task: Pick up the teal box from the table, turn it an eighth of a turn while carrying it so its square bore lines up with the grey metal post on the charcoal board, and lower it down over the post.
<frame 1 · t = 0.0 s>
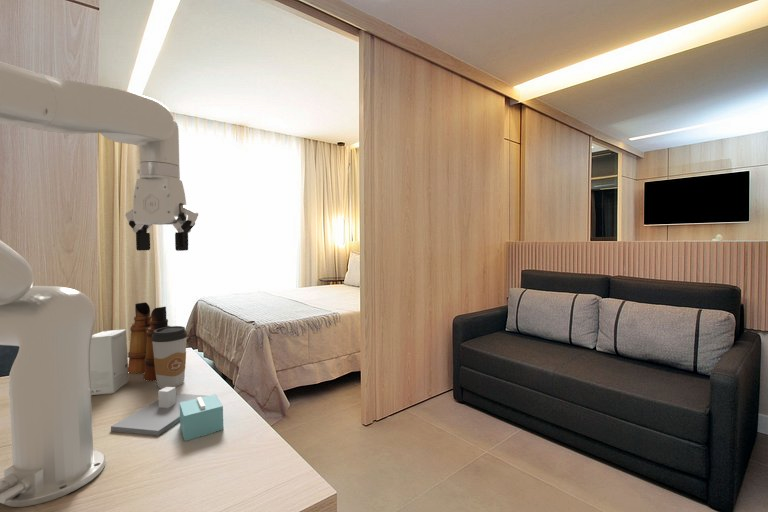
hand: (162, 250, 80), 37 cm above the table, tool pointing down, fingers open, 9 cm apart
teal box: (201, 427, 73), on the table
binoculars: (152, 372, 105), on the table
skincare box: (109, 389, 93), on the table
coffee cup: (171, 384, 96), on the table
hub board: (164, 414, 79), on the table
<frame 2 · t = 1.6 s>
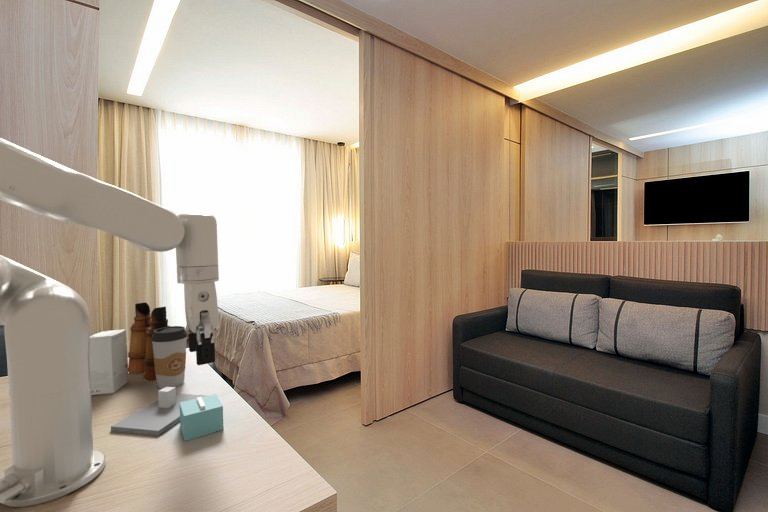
hand: (201, 356, 73), 15 cm above the table, tool pointing down, fingers open, 9 cm apart
nothing on the table moved.
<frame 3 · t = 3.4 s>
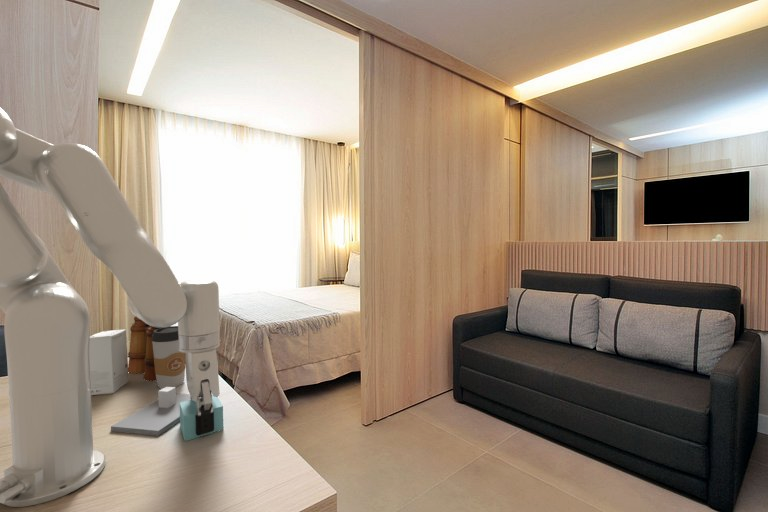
hand: (201, 423, 73), 1 cm above the table, tool pointing down, fingers closed on teal box, 7 cm apart
teal box: (201, 427, 73), on the table, touching gripper
everything else where it was.
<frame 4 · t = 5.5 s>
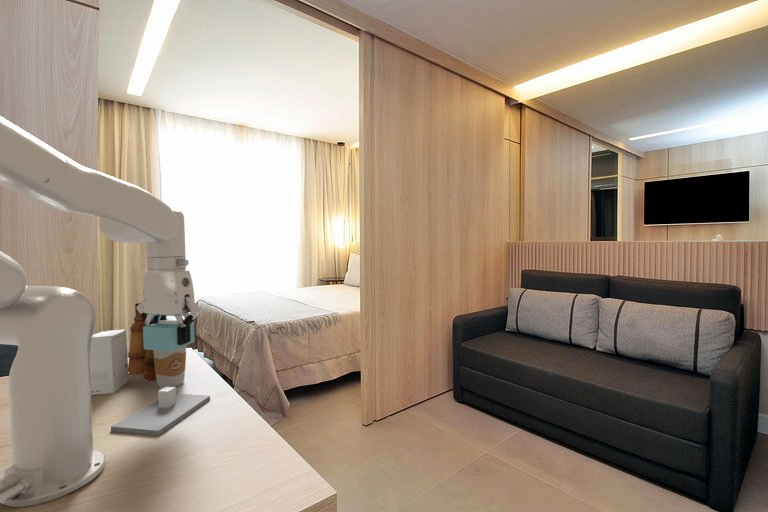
hand: (169, 341, 80), 16 cm above the table, tool pointing down, fingers closed on teal box, 7 cm apart
teal box: (170, 345, 80), point 15 cm above the table, touching gripper
everything else where it was.
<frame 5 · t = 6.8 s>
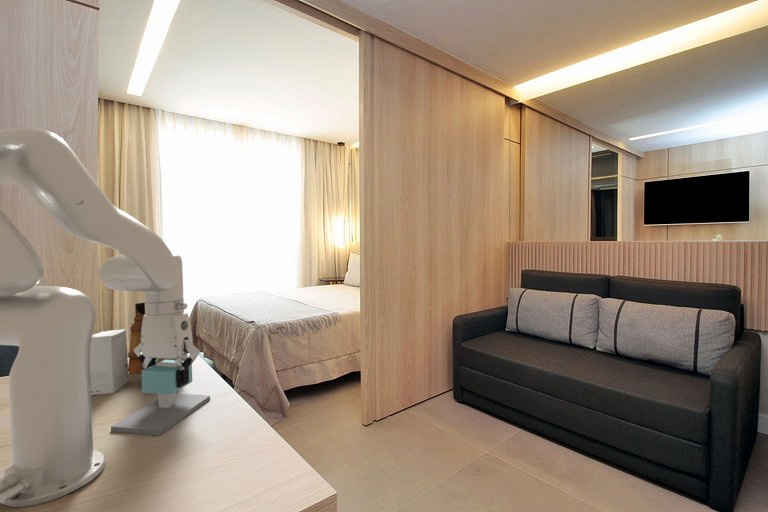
hand: (167, 383, 81), 6 cm above the table, tool pointing down, fingers closed on teal box, 7 cm apart
teal box: (168, 386, 82), point 5 cm above the table, touching gripper
everything else where it was.
when the fingers open (3 cm above the table, at t = 7.8 s): teal box drops 1 cm, resting on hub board.
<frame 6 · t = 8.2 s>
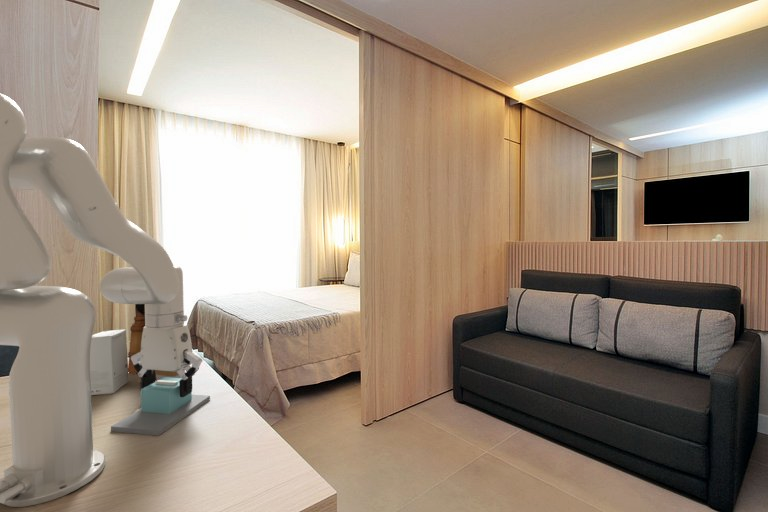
hand: (167, 393, 81), 4 cm above the table, tool pointing down, fingers open, 9 cm apart
teal box: (167, 405, 81), point 1 cm above the table, touching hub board
everything else where it was.
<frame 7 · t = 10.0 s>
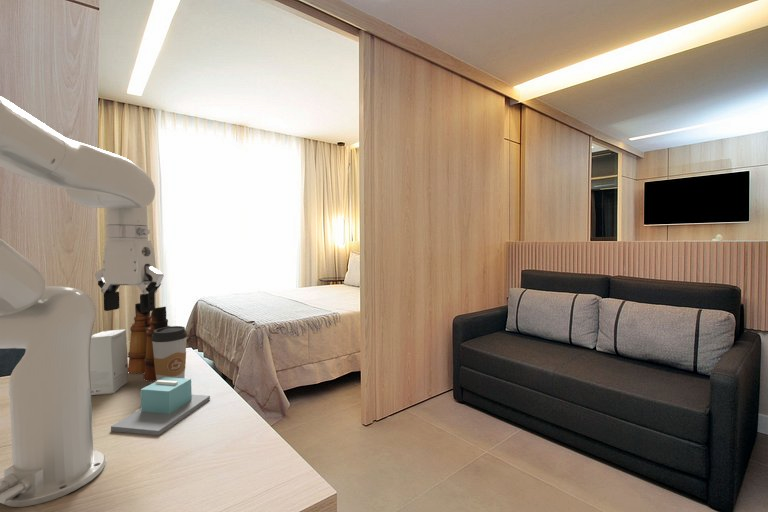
hand: (129, 310, 79), 23 cm above the table, tool pointing down, fingers open, 9 cm apart
nothing on the table moved.
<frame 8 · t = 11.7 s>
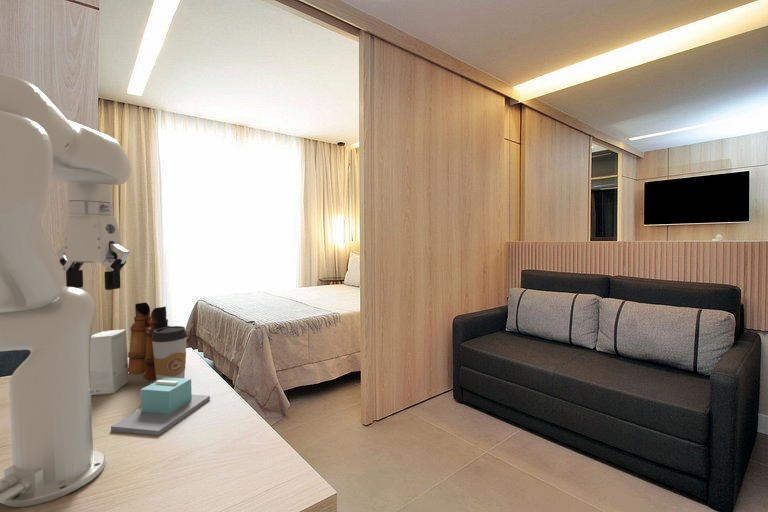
hand: (93, 288, 78), 28 cm above the table, tool pointing down, fingers open, 9 cm apart
nothing on the table moved.
at the end: teal box 0.0 cm from the target spot on the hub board, point 1.0 cm above the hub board's base; teal box tilted 0°; the gripper is holding nothing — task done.
